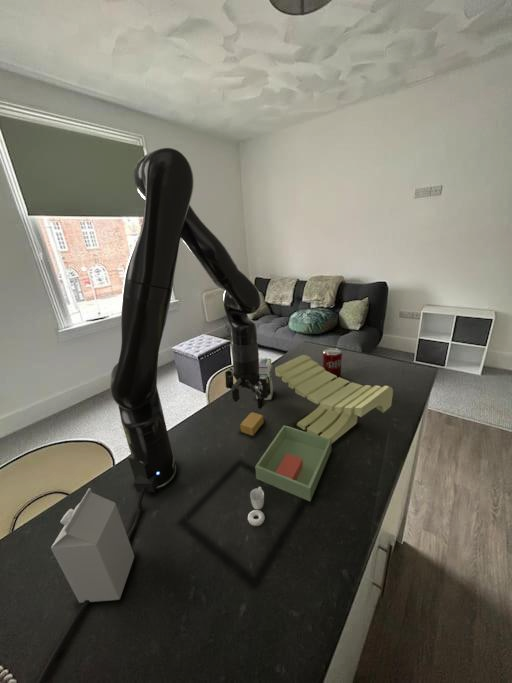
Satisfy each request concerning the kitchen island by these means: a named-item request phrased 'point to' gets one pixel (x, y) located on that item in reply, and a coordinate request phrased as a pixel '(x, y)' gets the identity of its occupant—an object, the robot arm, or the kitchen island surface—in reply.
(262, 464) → the basket
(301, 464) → the block
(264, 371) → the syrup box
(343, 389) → the slatted curved stool
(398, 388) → the kitchen island surface
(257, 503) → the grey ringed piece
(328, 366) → the soda can
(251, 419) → the block
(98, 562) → the milk carton
